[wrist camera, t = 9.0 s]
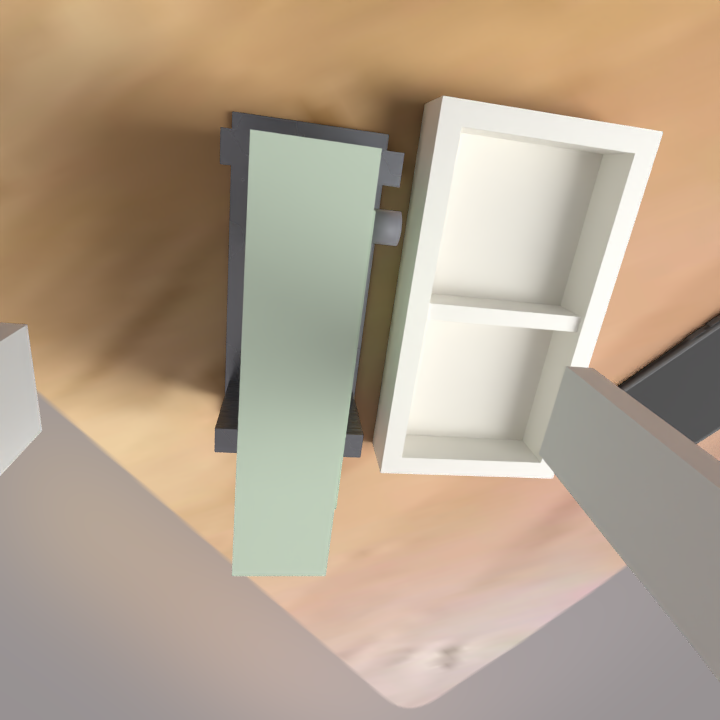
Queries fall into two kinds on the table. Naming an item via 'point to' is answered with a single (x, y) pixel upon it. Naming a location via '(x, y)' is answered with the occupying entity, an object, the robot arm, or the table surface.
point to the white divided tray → (501, 281)
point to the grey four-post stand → (237, 156)
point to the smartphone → (684, 384)
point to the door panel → (300, 342)
